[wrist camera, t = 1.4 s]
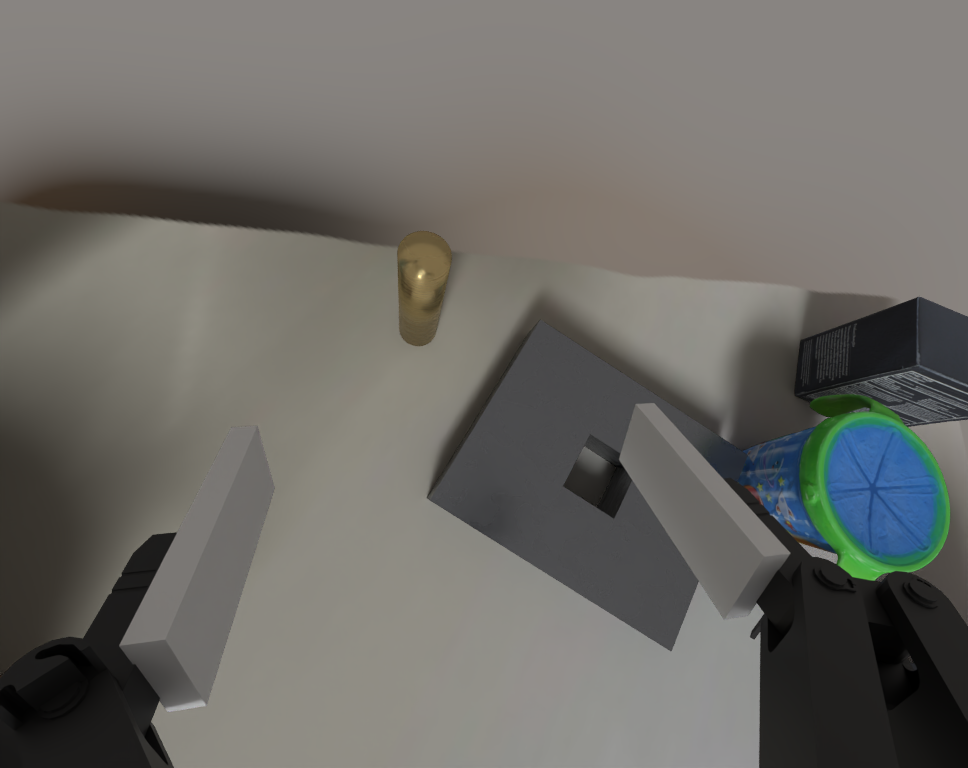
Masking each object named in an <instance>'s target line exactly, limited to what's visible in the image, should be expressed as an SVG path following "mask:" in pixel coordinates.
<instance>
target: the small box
mask: <svg viewBox="0 0 968 768" xmlns="http://www.w3.org/2000/svg"><path fill="white" fill-rule="evenodd" d="M845 394H855V395H862V396H866V397H869V398H871V399H873V400H875V401H877V402H879V403H881V404H882V405H884V406H886V407H887V408H889V409H890V410H891V411H893V412H894V413H895V414H897V415H899V418H900V419H901V420H902V422H903V423H904V425H905V426H907V427H909V426H917V425H925V424H932V423H940V422H947V421H959V420H967V419H968V317H967V316H965V315H962V314H960V313H957V312H955V311H953V310H950V309H948V308H945V307H943V306H941V305H938V304H936V303H934V302H931V301H929V300H926V299H924V298H922V297H917V298H915V299H912V300H909V301H906V302H904V303H901V304H898V305H896V306H893V307H890V308H888V309H885V310H882V311H880V312H877V313H874V314H871V315H869V316H866V317H863V318H861V319H858V320H855V321H852V322H850V323H847V324H844V325H841V326H839V327H836V328H833V329H831V330H828V331H825V332H822V333H819V334H817V335H814V336H811V337H808V338H806V339H803V340H801V342H800V349H799V358H798V367H797V376H796V385H795V395H796V396H798V397H800V398H803V399H805V400H808V401H810V402H811V401H813V400H814V399H817V398H819V397H823V396H829V395H845ZM869 410H870V409H869V408H866V407H864V408H861V409H857V410H854V411H851V412H864V411H868V412H869ZM851 412H849V413H851Z"/></svg>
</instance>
